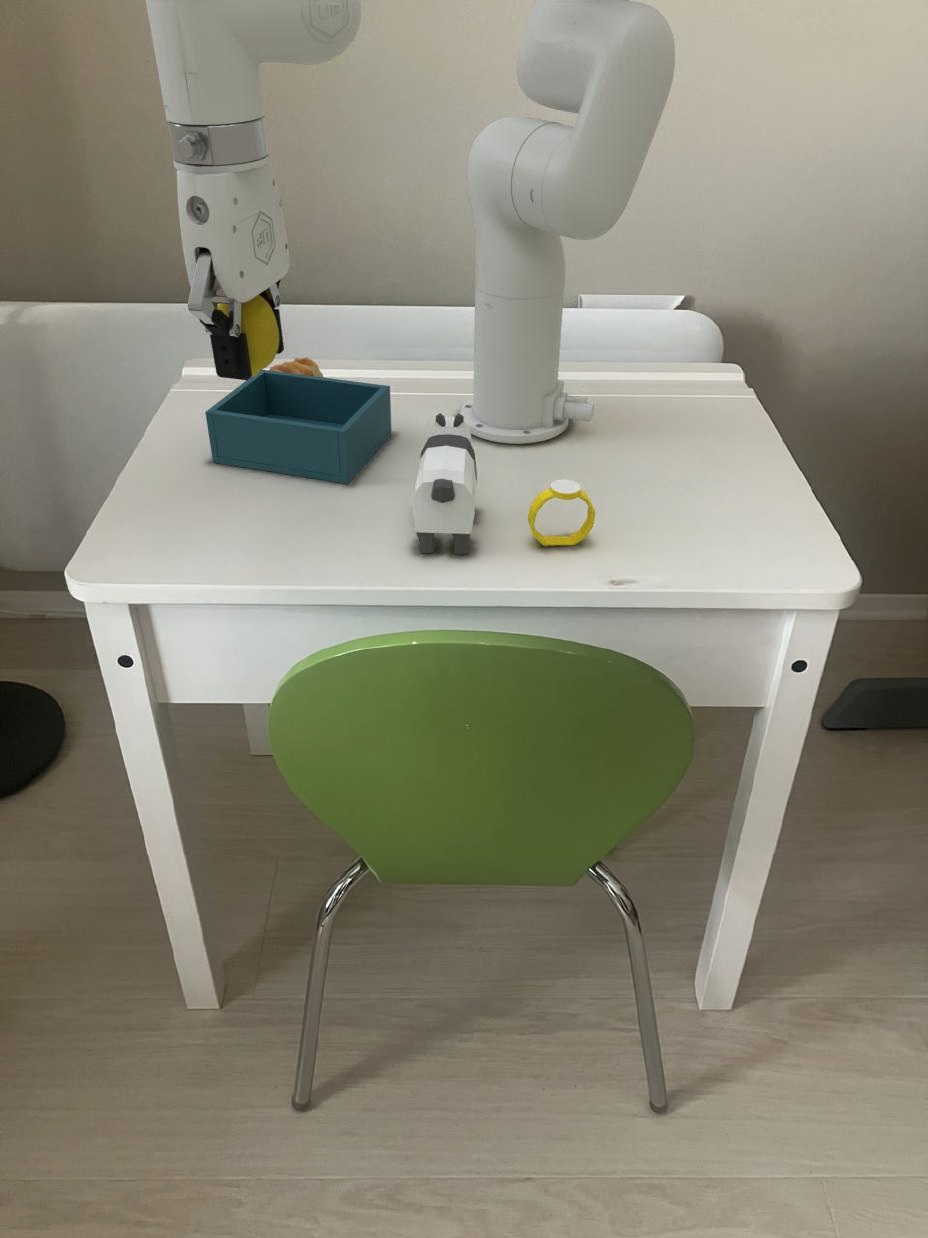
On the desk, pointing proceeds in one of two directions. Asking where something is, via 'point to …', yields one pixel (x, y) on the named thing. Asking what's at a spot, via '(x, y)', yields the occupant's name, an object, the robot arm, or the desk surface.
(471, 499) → the giant panda
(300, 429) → the teal open bin
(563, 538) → the watch
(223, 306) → the lemon
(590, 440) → the desk surface
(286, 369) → the pastry
